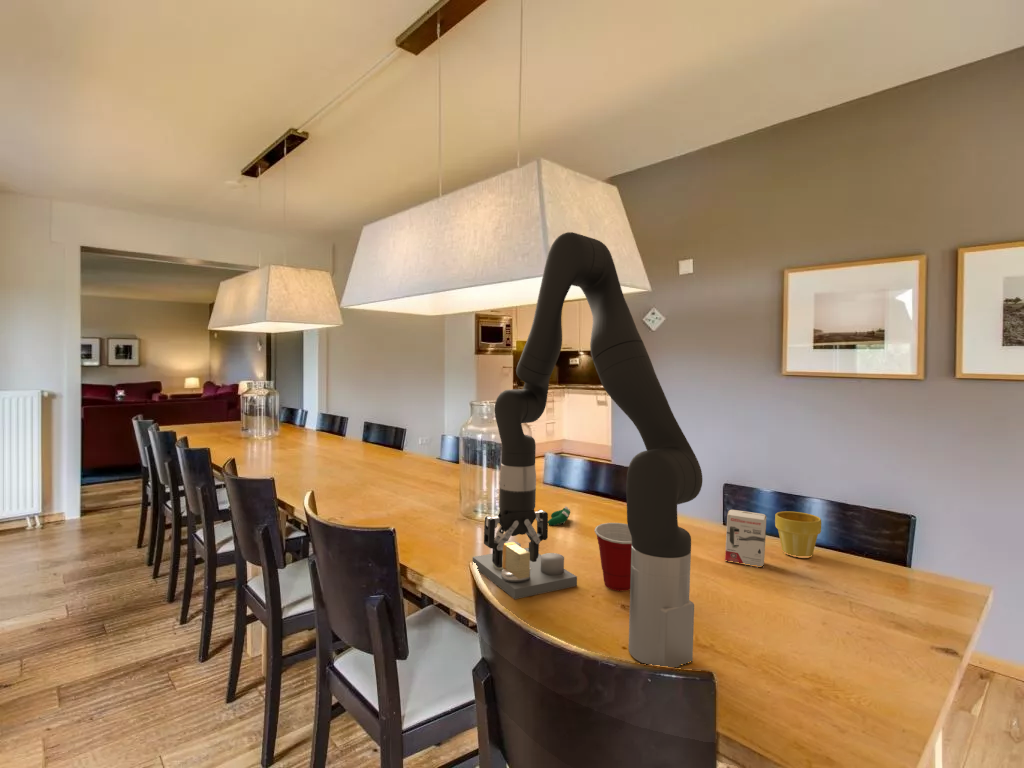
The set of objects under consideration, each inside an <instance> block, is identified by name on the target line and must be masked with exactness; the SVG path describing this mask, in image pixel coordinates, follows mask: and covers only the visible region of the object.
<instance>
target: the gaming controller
mask: <svg viewBox="0 0 1024 768" xmlns="http://www.w3.org/2000/svg"><path fill="white" fill-rule="evenodd" d="M570 514H571V510H570V508H569V507H568V506H566V505H565V506H564V507H563V508H562V509H559V510H555V511H553V512H552V513H551V514H550V519H548V526H557V525H564V524H565V522H566V521H567V520H568V519H569V517H570ZM562 523H563V524H562Z"/></svg>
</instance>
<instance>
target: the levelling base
mask: <svg viewBox="0 0 1024 768" xmlns="http://www.w3.org/2000/svg"><path fill="white" fill-rule="evenodd" d="M511 542H514V543H516V544H517V545H518V546H520V547H521V548H522V544H521V543H519V542H518V541H513V540H512V541H511V540H508V541H506V542H505V543H511ZM523 549H525V550H526V551H528V552H529V547H525V548H524V547H523ZM502 550H503V547H502ZM473 562H474V563H476V565H477V566H478V569H479V570H478V571H479V572H480V573H481V574H482V575H484V576H485V577H486V578H487V579H489V581H491V582H492V583H494V584H495V585H496V586H497V587H498V588H500V589H501V590H502V591H504V592H505V593H506V594H507V595H509V596H510V597H511V598H512V599H513V600H517V599H521V598H526V597H527V598H528V597H531V596H536V595H540V594H545V593H550V592H554V591H558V590H565V589H568V588H569V589H570V588H574V587H577V586H578V576H577V575H576V574H573V573H572V572H570V571H569V570H567V569H566V568H565V556H564V555H563V554H560V553H554V552H547V553H543V554H540V553H539V556H538V558H537V561H536V562H532V561H530V570H529V571H530V579H529V580H527V581H525V582H518V583H515V582H508V581H505V580H503V579H502V577H501V571H502V570H503V569H504V568H503V556H502V567H501V568H498V567H496V566H495V564H494V563H493V561H492V553H488V554H482V555H476V556H472V563H473Z"/></svg>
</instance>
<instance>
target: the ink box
mask: <svg viewBox="0 0 1024 768" xmlns="http://www.w3.org/2000/svg"><path fill="white" fill-rule="evenodd" d="M725 533H726V535H725V552H724V553H725V555H724V557H725V558H724V561H725V560H727V561H733V562H739V563H745V564H750V565H757V566H763V565H764V566H765V552H766V534H767V515H766V514H764V513H759V512H751V511H745V510H738V509H730V510H728V511H727V517H726V532H725ZM764 566H763V567H764Z"/></svg>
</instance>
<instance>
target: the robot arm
mask: <svg viewBox="0 0 1024 768" xmlns="http://www.w3.org/2000/svg"><path fill="white" fill-rule="evenodd" d="M543 269H544V270H543V274H542V279H541V281H540V282H541V283H540V288H539V292H538V297H537V301H536V306H535V307H536V308H535V311H534V316H533V320H532V325H531V327H530V331H529V333H528V337H527V339H526V343H525V345H524V347H523V350H522V353H521V354H520V356H519V357H520V358H519V361H518V362H517V366H516V369H515V371H516V375H517V377H518V378H519V380H521V381H522V382H524V385H523V387H522V388H521V389H520V388H519V389H506V390H505V389H504V390H503V391H502V392H500V393H499V394H498V396H497V398H496V401H495V403H494V404H495V405H494V417H495V421H496V425H497V426H496V427H497V429H498V434H499V437H500V441H501V443H500V444H501V464H500V472H499V483H498V484H499V493H498V495H499V496H498V508H499V513H498V515H497V516H492V517H491V516H489V515H485V517H484V525H483V527H484V529H483V530H484V532H483V544H484V545H485V546H487V548H489V549H492V552H491V554H492V561H493V563H494V564H495V566H496V567H498V568H501V567H502V556H503V550H502V547H503V546H504V544H505V542H506V541H510V538H511V537H515V536H519V535H520V536H521V535H522V536H523V535H526V536H527V537H528V539H529V540H530V541H529V542H528V548H529V552H530V561H532V562H536V561H537V558H538V556H539V554H540V552H539V551H540V543H541V542H542V541H547V540H548V536H549V531H548V529H549V528H548V527H549V524H548V521H549V513H548V512H546V511H544V510H542V509H538V510H537V511H535V508H536V499H537V498H536V495H537V494H536V492H537V490H536V489H537V487H536V486H537V472H536V451H537V450H536V445H537V444H536V439H535V438H534V437H533V436H531V435H529V434H524V430H523V426H522V425H523V424H527V423H534V422H537V421H538V420H539V418H540V417H542V415H543V413H544V412H545V410H546V407H547V402H548V401H547V400H548V394H549V385H550V378H551V376H552V374H553V372H554V369H555V367H556V364H557V362H558V359H559V357H560V355H561V354H560V353H561V350H562V345H563V327H562V326H563V325H562V315H563V313H562V312H563V308H564V307H563V306H564V303H565V300H566V297H567V295H568V292H569V291H570V289H571V287H572V286H573V287H579V288H580V289H581V291H582V293H583V294H584V296H585V298H586V301H587V303H588V306H589V309H590V311H591V315H592V327H591V332H590V342H589V343H590V344H589V345H590V348H589V349H590V355H591V358H592V361H593V364H594V367H595V370H596V373H597V376H598V378H599V380H600V383H601V385H602V387H603V388H604V390H605V392H606V393H607V395H608V396H609V397H610V398H611V400H612V401H613V402H614V403H615V404H616V405H617V407H619V409H620V410H622V412H623V413H624V414H625V415H626V416H627V417H628V418H629V419H630V421H631V422H632V423H633V425H634V426H635V428H636V429H637V431H638V433H639V435H640V437H641V438H642V439H641V440H642V441H643V444H644V446H645V449H646V450H643V451H641V452H639V453H637V454H636V455H634V456H633V458H632V459H631V461H630V463H629V465H628V468H627V472H626V473H627V474H626V484H625V487H626V493H625V494H626V521H627V523H626V524H628V528H629V531H630V534H631V537H632V550H631V581H630V590H629V618H628V652H629V654H630V656H632V658H634V659H635V660H637V661H638V662H640V663H641V664H643V663H646V664H652V665H660V666H668V667H676V668H680V666H679V665H681V664H685V665H687V664H686V663H688V662H690V661H692V662H693V654H694V653H693V652H694V626H695V625H694V624H695V603H694V602H693V601H691V600H690V590H691V589H690V588H691V587H690V585H691V566H692V565H691V562H692V561H691V559H692V556H691V555H692V536H691V534H690V532H689V531H688V530H686V529H685V528H683V527H680V526H679V522H678V505H681V504H685V503H688V502H690V501H692V500H694V499H696V498H697V496H699V494H700V492H701V491H702V487H703V472H702V469H701V465H700V462H699V460H698V458H697V456H696V454H695V452H694V450H693V448H692V446H691V444H690V443H689V441H688V440H687V437H686V435H685V434H684V432H683V430H682V428H681V426H680V425H679V423H678V421H677V418H676V417H675V415H674V413H673V410H672V409H671V406H670V404H669V401H668V399H667V396H666V395H665V392H664V389H663V388H662V387H663V386H662V385H661V383H660V380H659V378H658V376H657V374H656V371H655V369H654V365H653V363H652V360H651V357H650V355H649V353H648V351H647V347H646V346H645V344H644V341H643V339H642V337H641V335H640V333H639V330H638V329H637V326H636V323H635V320H634V318H633V316H632V313H631V310H630V308H629V306H628V303H627V301H626V298H625V296H624V292H623V289H622V286H621V283H620V280H619V279H620V278H619V276H618V273H617V270H616V269H617V268H616V265H615V262H614V259H613V256H612V253H611V251H610V250H609V248H608V247H607V245H606V244H605V243H603V242H602V241H601V240H598V239H596V238H592V237H590V236H586V235H583V234H580V233H576V232H569V231H568V232H565V233H564V232H563V233H562V234H560V235H559V236H557V238H556V239H555V240H554V241H553V243H552V245H551V247H550V248H549V251H548V253H547V256H546V261H545V265H544V267H543ZM535 520H536V530H535V527H534V526H533V524H534V522H535ZM498 524H499V525H500V526H499V528H498V527H497V526H498ZM496 528H498V530H497V531H496ZM646 664H645V665H646ZM688 664H689V663H688Z"/></svg>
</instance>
